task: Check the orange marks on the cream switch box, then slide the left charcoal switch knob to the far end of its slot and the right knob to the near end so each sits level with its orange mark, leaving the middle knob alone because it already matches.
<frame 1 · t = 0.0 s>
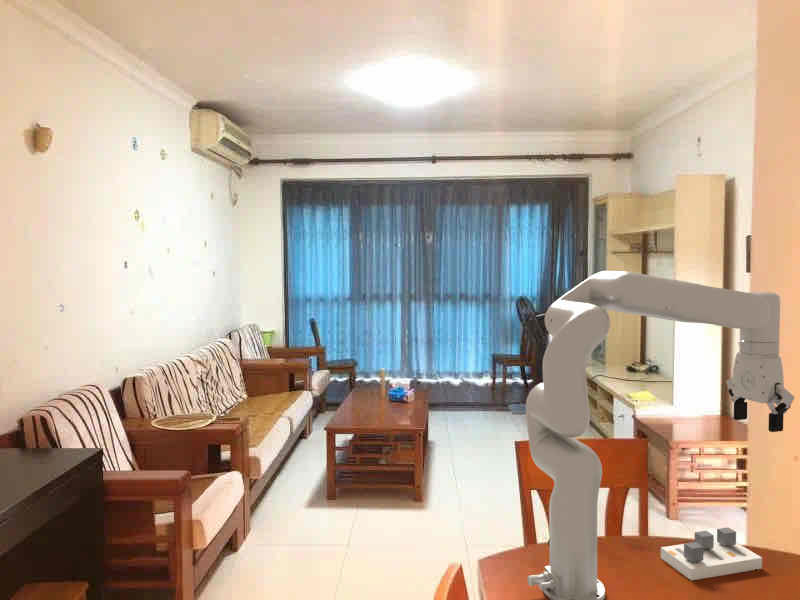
hand: (757, 425, 134), 31 cm above the table, tool pointing down, fingers open, 9 cm apart
smartwatch: (560, 554, 141), on the table
middle switch: (704, 540, 137), point 4 cm above the table, slide at 2.0 cm
left switch: (693, 551, 132), point 4 cm above the table, slide at -2.0 cm
switch box: (710, 563, 136), on the table
right switch: (726, 536, 139), point 4 cm above the table, slide at 2.0 cm
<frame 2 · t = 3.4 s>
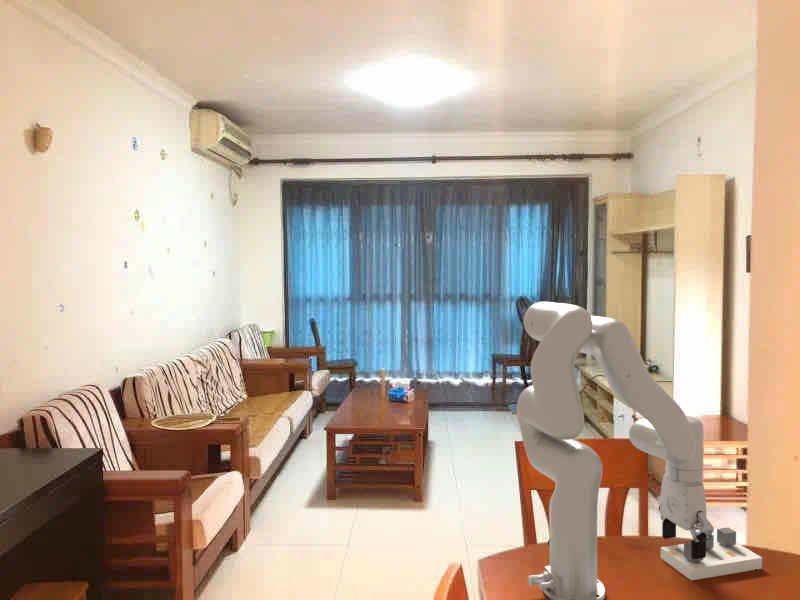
hand: (683, 547, 135), 4 cm above the table, tool pointing down, fingers open, 9 cm apart
left switch: (693, 551, 132), point 4 cm above the table, slide at -1.9 cm, touching gripper
everything else where it was.
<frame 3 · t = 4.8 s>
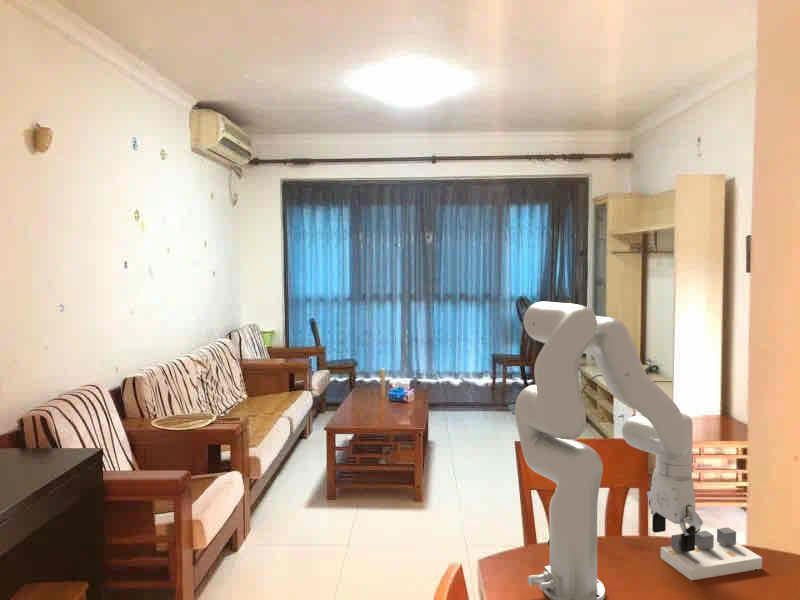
hand: (672, 540, 139), 4 cm above the table, tool pointing down, fingers open, 9 cm apart
left switch: (680, 543, 136), point 4 cm above the table, slide at 2.1 cm
everything else where it was.
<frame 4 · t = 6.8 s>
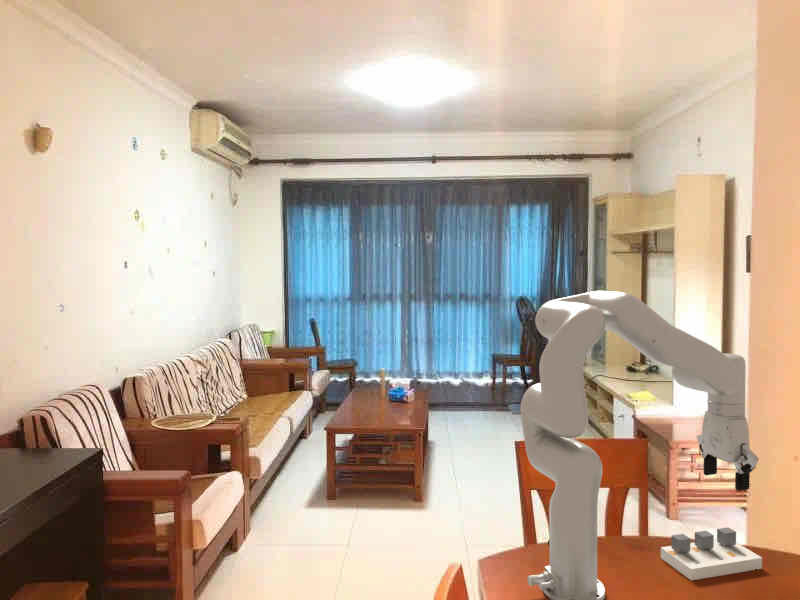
hand: (725, 481, 139), 17 cm above the table, tool pointing down, fingers open, 9 cm apart
nothing on the table moved.
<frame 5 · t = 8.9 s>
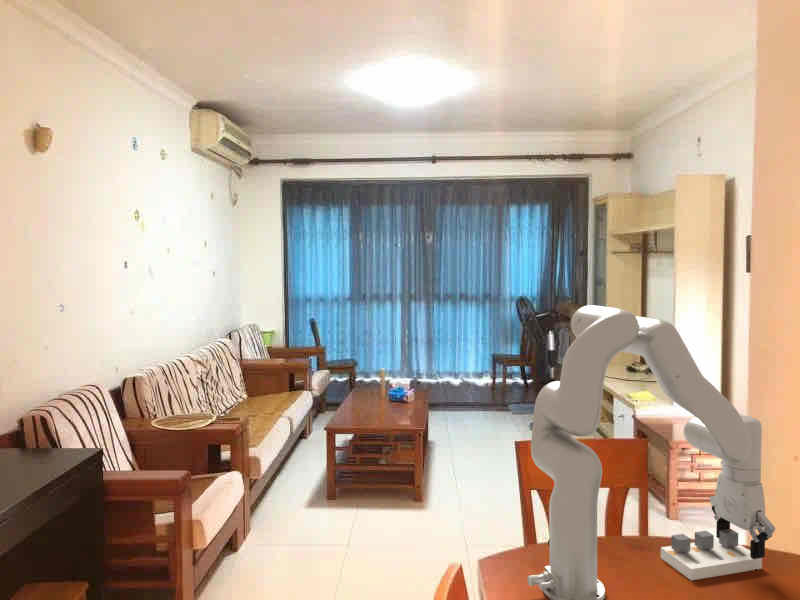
hand: (739, 547, 135), 4 cm above the table, tool pointing down, fingers open, 9 cm apart
right switch: (728, 538, 138), point 4 cm above the table, slide at 1.3 cm, touching gripper
everything else where it was.
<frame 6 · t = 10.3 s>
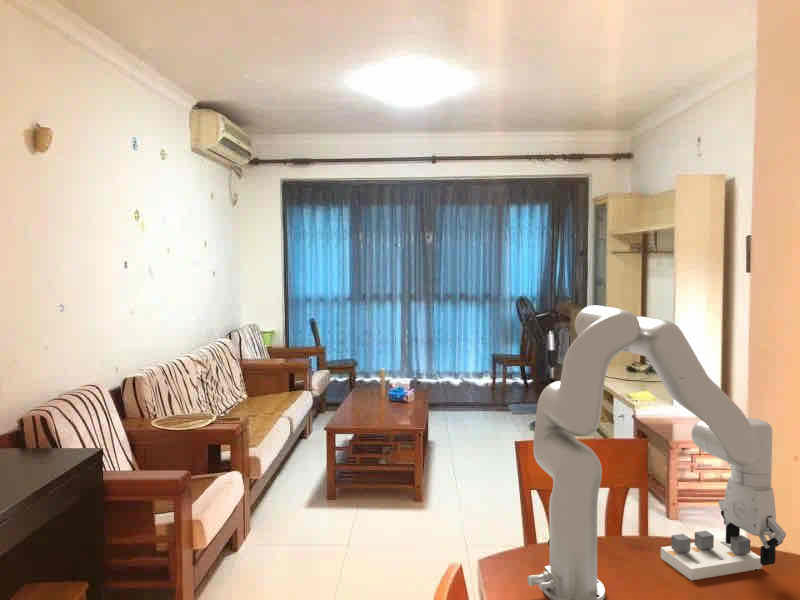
hand: (749, 553, 132), 4 cm above the table, tool pointing down, fingers open, 9 cm apart
right switch: (740, 544, 135), point 4 cm above the table, slide at -2.1 cm
everything else where it was.
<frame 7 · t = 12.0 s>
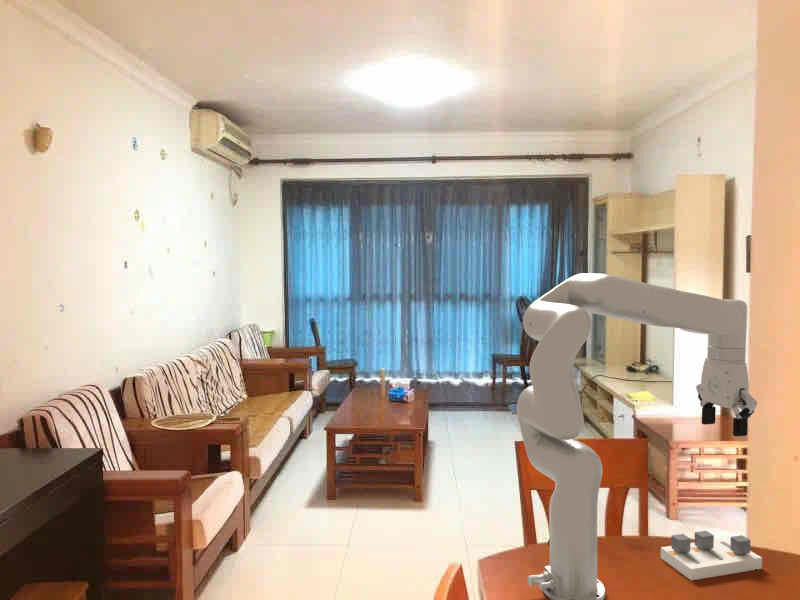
hand: (723, 429, 137), 30 cm above the table, tool pointing down, fingers open, 9 cm apart
nothing on the table moved.
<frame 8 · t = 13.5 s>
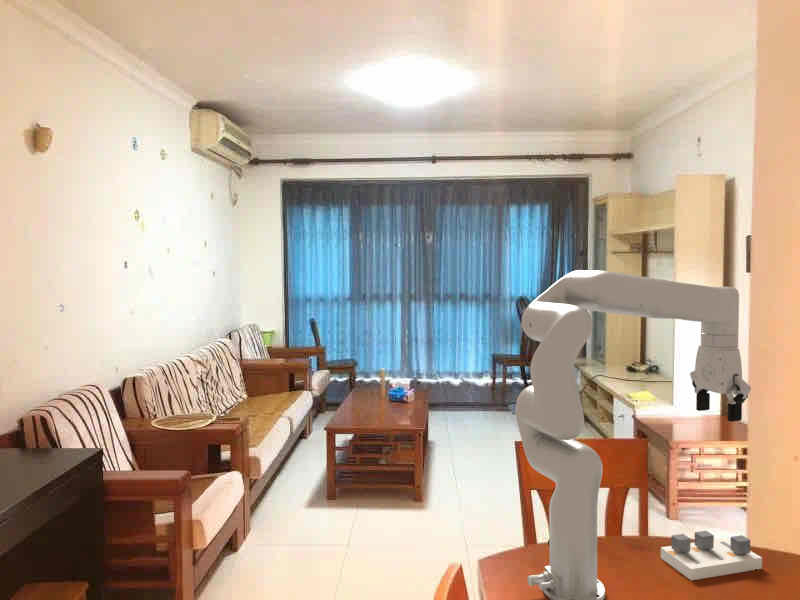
hand: (718, 415, 138), 32 cm above the table, tool pointing down, fingers open, 9 cm apart
nothing on the table moved.
at the end: left switch slide at 2.1 cm; middle switch slide at 2.0 cm; right switch slide at -2.1 cm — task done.
